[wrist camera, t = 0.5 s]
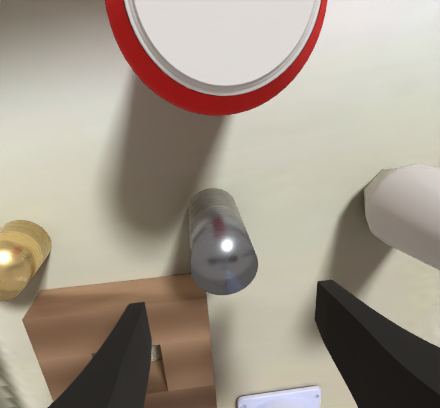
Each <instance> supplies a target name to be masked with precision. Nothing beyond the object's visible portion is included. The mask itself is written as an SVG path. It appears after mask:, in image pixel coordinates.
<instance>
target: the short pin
mask: <svg viewBox="0 0 440 408" xmlns="http://www.w3.org/2000/svg"><path fill="white" fill-rule="evenodd" d="M50 251H51V240H50V237H49V235H48V234H47V232H46V231H45V230H44V229H43V228H42V227H40V226H39V225H37V224H35V223H33V222H29V221H25V220H17V221H12V222H9V223H7V224H6V225H4V226H3V227H2V228H1V229H0V301H7V300H10V299H13V298H15V297H17V296H18V295H19V294H20V293H21V292H22V291H23V290H24V288H25V287H26V285H27V284H28V283H29V281H30V280H31V278H32V277H33V276H34V274H35V273H36V271H37V270H38V269H39V267H40V266H41V265H42V263H43V262H44V260H45V259H46V258H47V256H48V255H49V253H50Z"/></svg>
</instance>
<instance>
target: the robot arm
mask: <svg viewBox="0 0 440 408" xmlns="http://www.w3.org/2000/svg"><path fill="white" fill-rule="evenodd" d="M315 321H316V324H317V327H318V329H319V332H320V334H321V337H322V339H323V342H324V344H325V346H326V348H327V350H328V351H329V353H330V355H331V357H332V359H333V361H334V363H335V364H336V366H337V368H338V370H339V372H340V373H341V375H342V377H343V379H344V381H345V383H346V384H347V386H348V388H349V390H350V392H351V394H352V396H353V398H354V400H355V402H356V404H357V406H358V408H440V348H439V347H437V346H435V345H433V344H431V343H429V342H427V341H425V340H423V339H421V338H419V337H418V336H416V335H414V334H412V333H410V332H408V331H407V330H405V329H403V328H401V327H400V326H398V325H396V324H395V323H393V322H392V321H390V320H388V319H387V318H385V317H384V316H382V315H381V314H379V313H378V312H376V311H375V310H373V309H372V308H370V307H369V306H367V305H366V304H365V303H363V302H362V301H360V300H359V299H358V298H356V297H355V296H353V295H352V294H351V293H349V292H348V291H347V290H345V289H344V288H342V287H341V286H340V285H338V284H337V283H336V282H334V281H333V280H326V281H318V284H317V297H316V310H315ZM151 348H152V338H151V333H150V327H149V322H148V317H147V311H146V306H145V302H138V303H129V305H128V306H127V307H126V309H125V310H124V312H123V314H122V315H121V317H120V319H119V320H118V322H117V323H116V325H115V327H114V328H113V330H112V331H111V333H110V334H109V336H108V337H107V339H106V340H105V341H104V343H103V344H102V346H101V347H100V349H99V350H98V351H97V352H96V354H95V355H94V356H93V358H92V359H91V360H90V362H89V363H88V364H87V366H86V367H85V368H84V369H83V370H82V372H81V373H80V374H79V375H78V376H77V377H76V379H75V380H74V381H73V382H72V383H71V384H70V385H69V386H68V388H67V389H66V390H65V391H64V392H63V393H62V394H61V395H60V396H59V397H58V398H57V399H56V400H55V401H54V402H53V403H52V404H51V405H50V406H49V407H48V408H144V403H145V397H146V391H147V385H148V378H149V372H150V366H151ZM320 402H321V389H320V387H319V386H311V387H304V388H297V389H290V390H283V391H276V392H269V393H262V394H255V395H248V396H242V397H239V398H238V400H237V403H238V408H320Z"/></svg>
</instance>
